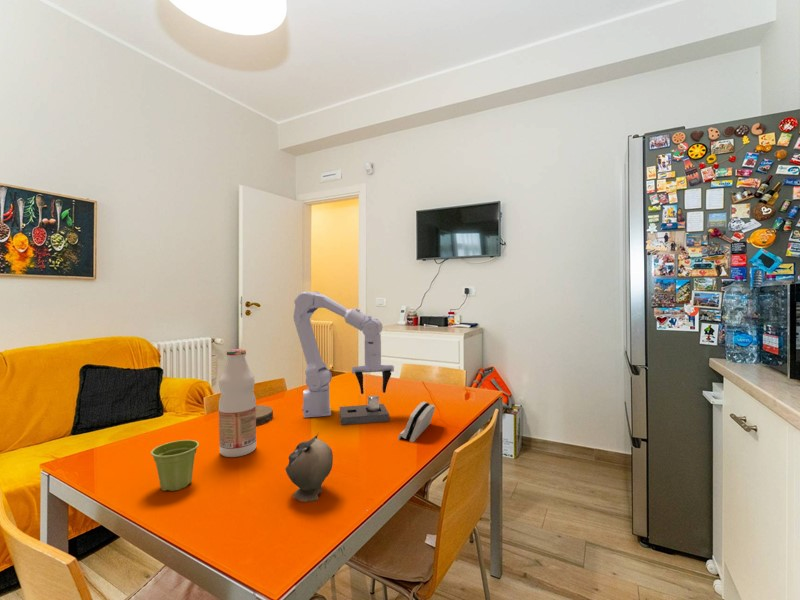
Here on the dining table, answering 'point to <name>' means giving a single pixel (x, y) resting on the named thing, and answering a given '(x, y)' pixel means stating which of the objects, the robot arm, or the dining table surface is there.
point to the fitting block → (362, 414)
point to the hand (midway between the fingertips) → (373, 392)
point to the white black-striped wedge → (418, 421)
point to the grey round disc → (263, 414)
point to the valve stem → (373, 403)
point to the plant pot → (175, 463)
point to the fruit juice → (237, 407)
